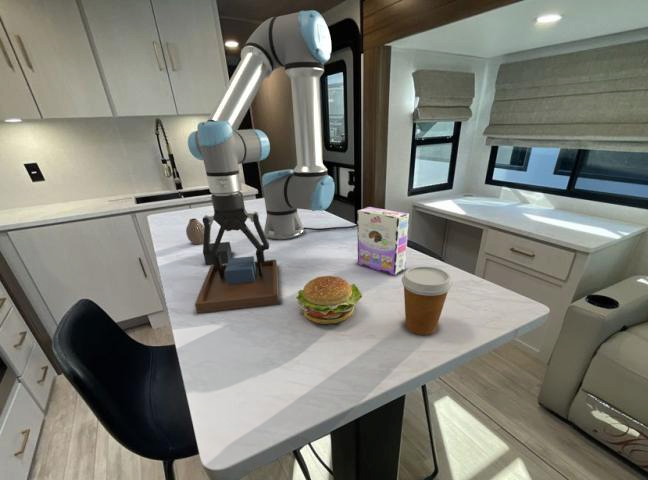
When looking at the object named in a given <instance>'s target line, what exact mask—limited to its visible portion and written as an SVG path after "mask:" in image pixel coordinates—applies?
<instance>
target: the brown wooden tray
mask: <svg viewBox="0 0 648 480" xmlns="http://www.w3.org/2000/svg"><path fill="white" fill-rule="evenodd" d="M222 265H223V270H224V274H225V269H226V266H227V263H223V264H222ZM209 266H210V267H209V269H208V271H207V274H206V276H205V278H204V281H203V283H202V286H201V288H200V290H199V293H198V296H197V298H196V301H195V303H194V306H195V310H196V313H197V314H204V313H213V312H221V311H229V310H238V309H239V310H240V309H246V308H257V307H265V306H272V305H273V306H274V305H279V304H280V303H279V301H280V300H279V280H278V279H279V278H278V276H279V275H278V264H277V259H266V260H265V259H264V263H261V266H262V275H259V270H258V264H257V260H255V266H256V272H255V281H254V282H248V283H238V284H228V283H227V278H226V274H225V275H224V278H223V279H220V274H219V270H218V267H214V265H213V264H212V265H209Z"/></svg>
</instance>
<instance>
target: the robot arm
mask: <svg viewBox="0 0 648 480" xmlns="http://www.w3.org/2000/svg"><path fill="white" fill-rule="evenodd" d="M328 27H329V26H328V25H327V23H326V20H325V19H324V17H323V15H322V14H321V13H320V12H318V11H317V10H314V9H313V10H300V11H298V12H292V13H288V14H284V15H279V16H273V17H269V18H268V19H266V20H265V21H263V22H261V24H260V25H259V26H257V28H256V29H255V30H254V31H253V32H252V34H251V35H250V36H249V38H248V39H247V41H246V42H245V44H244V45H243V47H242V49H241V50H240V51H241V52H240V61H239V63H238V65H237V67H236V68H235V70H234V72H233V74H232V76H231V77H230V79H229V81H228V82H227V84H226V86H225V88H224V90H223V91H222V93H221V95H220V97H219V99H218V100H217V102H216V104H215V106H214V107H213V110H212V111H211V113H210V115H209V116H208V119H207V120H206V121H201V122H199V123H198V124H197V128H196V130H194V131H192V132H191V133H190V134H189V135H188V138H187V148H188V150H189V152H190V154H191V155H192V156H193V158H195V159H196V160H198V161H203V165H204V170H205V173H206V179H207V180H206V181H207V184H208V188H209V192H210V193H211V196H210V198H211V203H212V207H213V215H204V216H203V217H202V223H203V224H202V225H203V226H204V242H203V243H202V254H203V256H204V255H210V256H211V257H212V261H213V264H212V265H214V267H218V270H219V274H220V279H223V278H224V275H225V274H224V270H223V264H222V260H221V256H220V253H216V252H217V250H218V247H219V244H220V243H221V242H222V240H223V236H224V233H225V232H231V231H240V232H241V233H243V234H244V236H245V237H246V239H248V240H249V242H250V243H251V244H252V246H254V248H255V250H256V251H255V256H256V261H257V264H258V270H259V275H262V266H261V263H264V261H265V251H266V250H269V249H270V243H269V241H268V239H271V240H280V241H281V240H290V239H295V238H298V237H300V236H302V235H303V234H304V233H305V230H307V231H308V230H309V231H327V230H339V229H354V228H356V227H357V224H354V225H349V226H347V225H346V226H332V227H331V226H330V227H321V228H320V227H319V228H315V227H304V226H303V223H302V220H301V218H300V216H299V213H298V210H307V211H312V212H315V211H317V212H318V211H319V212H321V211H325V210H327V209H328V208H329V207H330V205H331V204H332V202H333V199H334V195H335V181H334V178H333V177H332V176H330V175H328V168H327V167H326V165H324V162H323V138H322V135H323V134H322V113H321V112H322V111H321V88H320V86H321V85H320V78H321V77H322V75H323V74H324V72H325V63H327V62H328V61H330V58H331V54H332V40H331V34H330V30H329V28H328ZM279 68H284V72H285V74H286V75H287V76H288V77H289V78H290V86H291V99H292V112H293V113H292V115H293V125H294V128H293V129H294V139H295V140H294V141H295V154H296V165H295V167H294V168H293V169H282V170H275V171H271V172H267V173H264V174H263V175H262V177H261V180H262V185H261V186H262V192H263V197H264V199H263V200H264V204H265V205H264V206H265V212H266V218H265V224H264V229H263V226H262V225H261V222H260V217H259V212H257V211H254V212H247V210H246V208H245V207H246V206H245V200H244V194H243V193H242V192H241V191H242V190H243V189H242V181H241V175H240V170H239V165H240V164H248V163H254V162H256V163H258V162H261V161H264V160H265V159H266V158H267V157H268V156H269V154H270V151H271V143H270V140H269V137H268V136H267V134H266V133H265V132H263V131H262V130H260V129H254V128H248V129H239V128H240V126H241V124H242V122H243V120H244V118H245V117H246V115H247V113H248V110H249V109H250V107H251V105H252V104H253V101H254V100H255V97H256V95H257V93H258V92H259V90H260V88H261V87H262V84H263V82H264V80H267V79H269V78H270V77H271V75H272V74H273V72H274V71H275V70H278V69H279ZM248 219H249V220H250V222H252V223H253V225H254V228H255V230H256V232H257V234H258V237H259V238H260V241H261V242H260V241H259V240H258V239H257V237H256V236H255V235H254V233H253V232H252V230H250V228H249V227H248V225H247V224H246V221H247V220H248ZM214 222H216V224H218V226H220V227H219V230H218V232H217V235H216V237H215V240H214V242H213V243H214V246H213V248H212V249H209V246H210V243H211V232H212V225H213V223H214Z"/></svg>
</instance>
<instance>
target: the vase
mask: <svg viewBox="0 0 648 480" xmlns="http://www.w3.org/2000/svg"><path fill="white" fill-rule="evenodd" d="M185 233H186V234H185V235H186V237H187V239H188V241H189V242H190V243H191V244H193V245H201V244H203V242H204V224H202V223H201V222H200V221H199V220H198V218H195V217H194V218H190V219H189V221H188V224H187V225H186V227H185Z"/></svg>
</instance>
